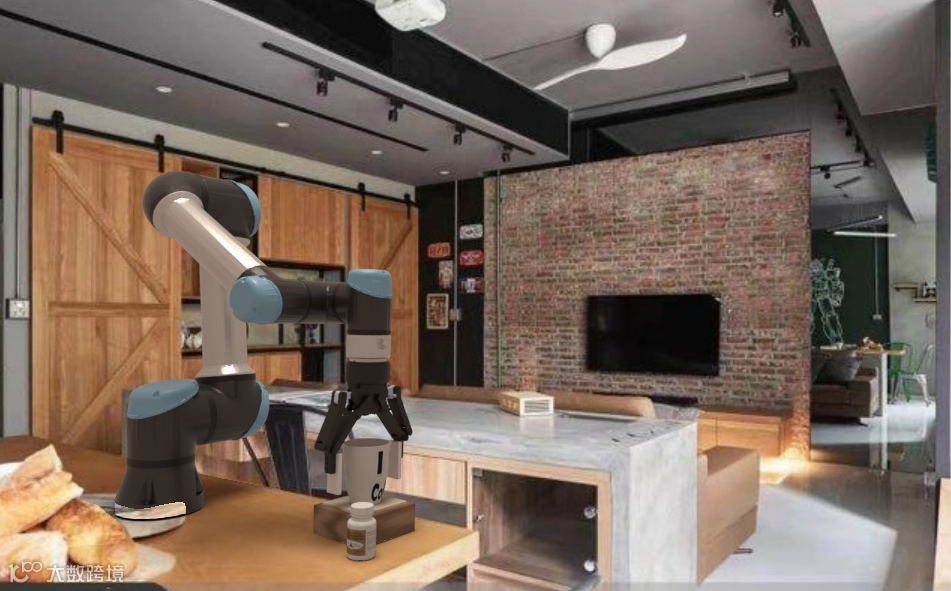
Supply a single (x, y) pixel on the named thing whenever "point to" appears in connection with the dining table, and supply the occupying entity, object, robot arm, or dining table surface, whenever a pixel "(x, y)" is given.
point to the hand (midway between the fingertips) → (365, 485)
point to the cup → (366, 468)
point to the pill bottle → (361, 532)
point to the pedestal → (388, 514)
